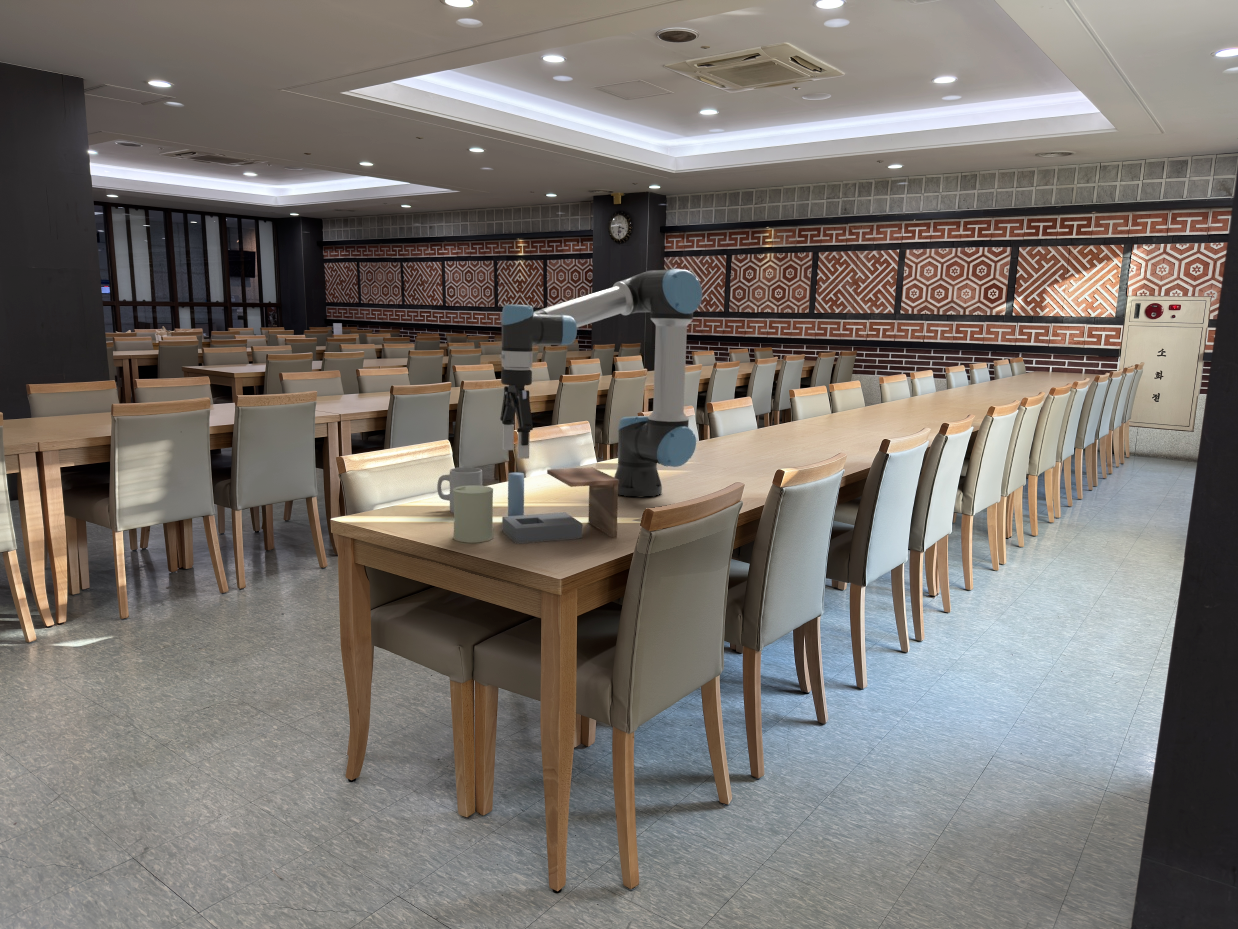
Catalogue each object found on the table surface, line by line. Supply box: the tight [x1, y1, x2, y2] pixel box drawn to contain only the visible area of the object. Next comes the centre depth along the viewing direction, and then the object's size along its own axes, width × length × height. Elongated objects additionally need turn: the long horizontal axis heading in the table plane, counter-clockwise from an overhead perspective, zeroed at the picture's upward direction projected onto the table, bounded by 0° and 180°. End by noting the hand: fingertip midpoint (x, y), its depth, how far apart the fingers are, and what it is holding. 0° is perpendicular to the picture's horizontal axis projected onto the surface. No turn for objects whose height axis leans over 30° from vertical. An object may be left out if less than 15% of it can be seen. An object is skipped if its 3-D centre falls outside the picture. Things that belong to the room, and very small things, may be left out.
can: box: [452, 485, 494, 544], centre depth 191 cm, size 9×9×12 cm
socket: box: [501, 511, 583, 544], centre depth 197 cm, size 16×12×4 cm
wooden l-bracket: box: [546, 467, 619, 539], centre depth 200 cm, size 12×17×14 cm
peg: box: [507, 472, 525, 516], centre depth 209 cm, size 4×4×12 cm
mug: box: [436, 466, 483, 514], centre depth 218 cm, size 12×8×11 cm
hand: (515, 454), depth 207 cm, fingers open, 13 cm apart
